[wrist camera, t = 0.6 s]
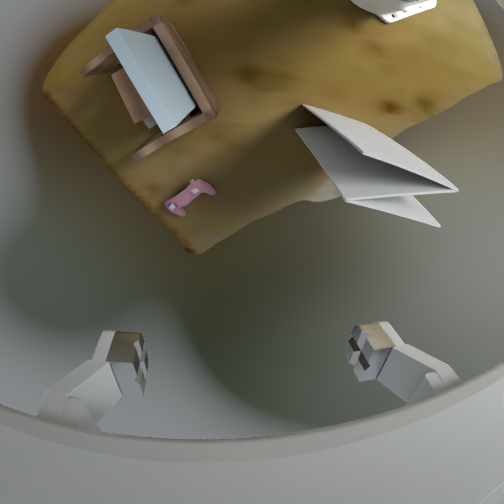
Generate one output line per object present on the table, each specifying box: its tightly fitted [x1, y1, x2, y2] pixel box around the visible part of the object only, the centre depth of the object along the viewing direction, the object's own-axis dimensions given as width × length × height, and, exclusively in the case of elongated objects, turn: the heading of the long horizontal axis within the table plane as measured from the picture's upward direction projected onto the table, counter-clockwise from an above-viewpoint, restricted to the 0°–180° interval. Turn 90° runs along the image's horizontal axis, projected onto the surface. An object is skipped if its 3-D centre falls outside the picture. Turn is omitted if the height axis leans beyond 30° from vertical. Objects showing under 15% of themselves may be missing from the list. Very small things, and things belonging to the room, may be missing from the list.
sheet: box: [105, 28, 198, 134], centre depth 33 cm, size 2×14×24 cm, turn 25°
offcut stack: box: [111, 68, 157, 129], centre depth 41 cm, size 7×13×8 cm, turn 25°
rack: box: [79, 15, 220, 162], centre depth 40 cm, size 15×20×10 cm
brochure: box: [295, 104, 459, 227], centre depth 39 cm, size 14×6×30 cm, turn 78°
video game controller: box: [165, 179, 215, 216], centre depth 56 cm, size 10×5×7 cm, turn 125°
